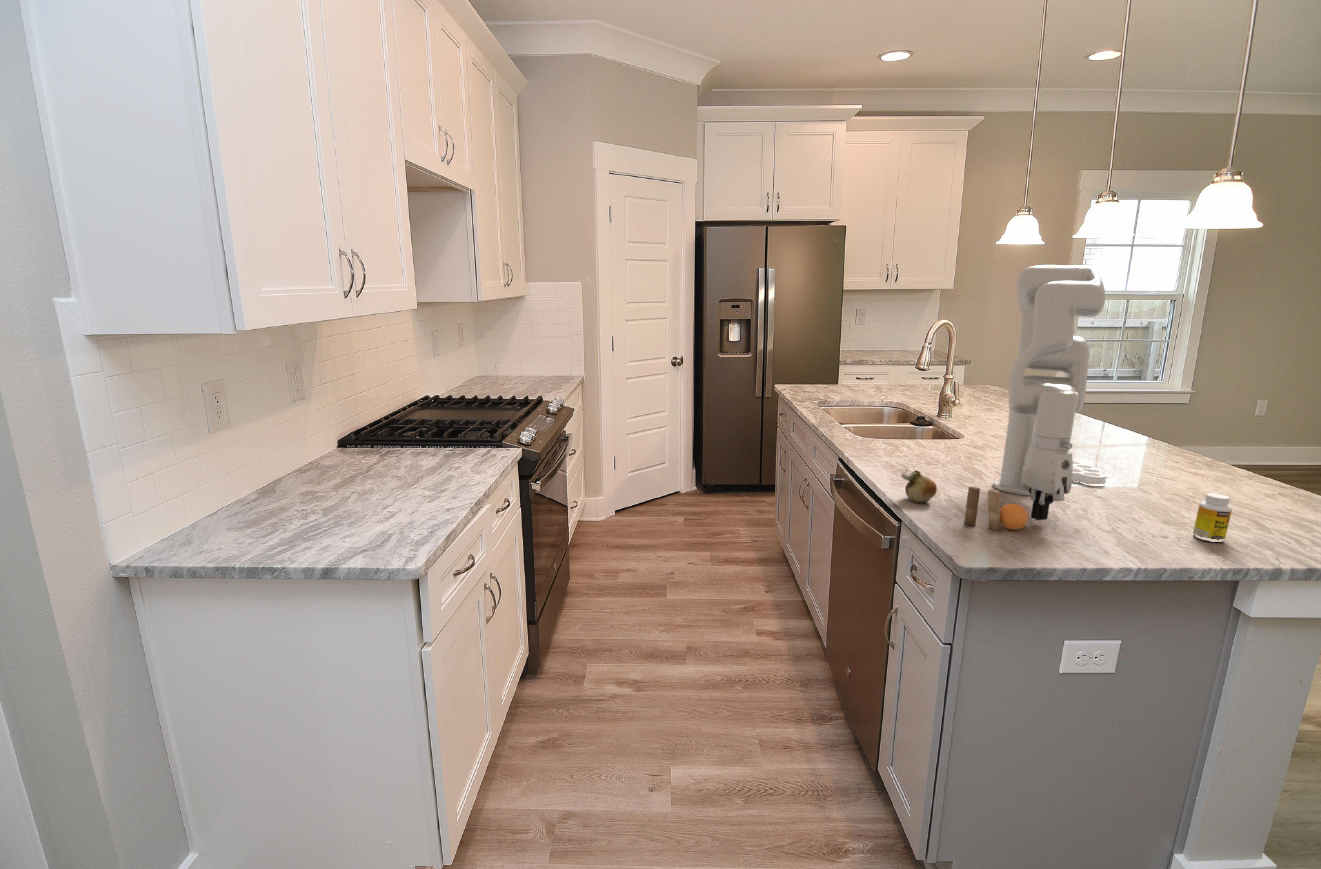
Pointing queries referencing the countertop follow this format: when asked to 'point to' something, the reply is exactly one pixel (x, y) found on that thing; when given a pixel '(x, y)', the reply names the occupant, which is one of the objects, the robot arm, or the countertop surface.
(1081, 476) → the white egg tray
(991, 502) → the maple pin
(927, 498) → the onion
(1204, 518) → the supplement bottle
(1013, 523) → the ball
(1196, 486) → the countertop surface
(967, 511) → the walnut pin
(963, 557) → the countertop surface
